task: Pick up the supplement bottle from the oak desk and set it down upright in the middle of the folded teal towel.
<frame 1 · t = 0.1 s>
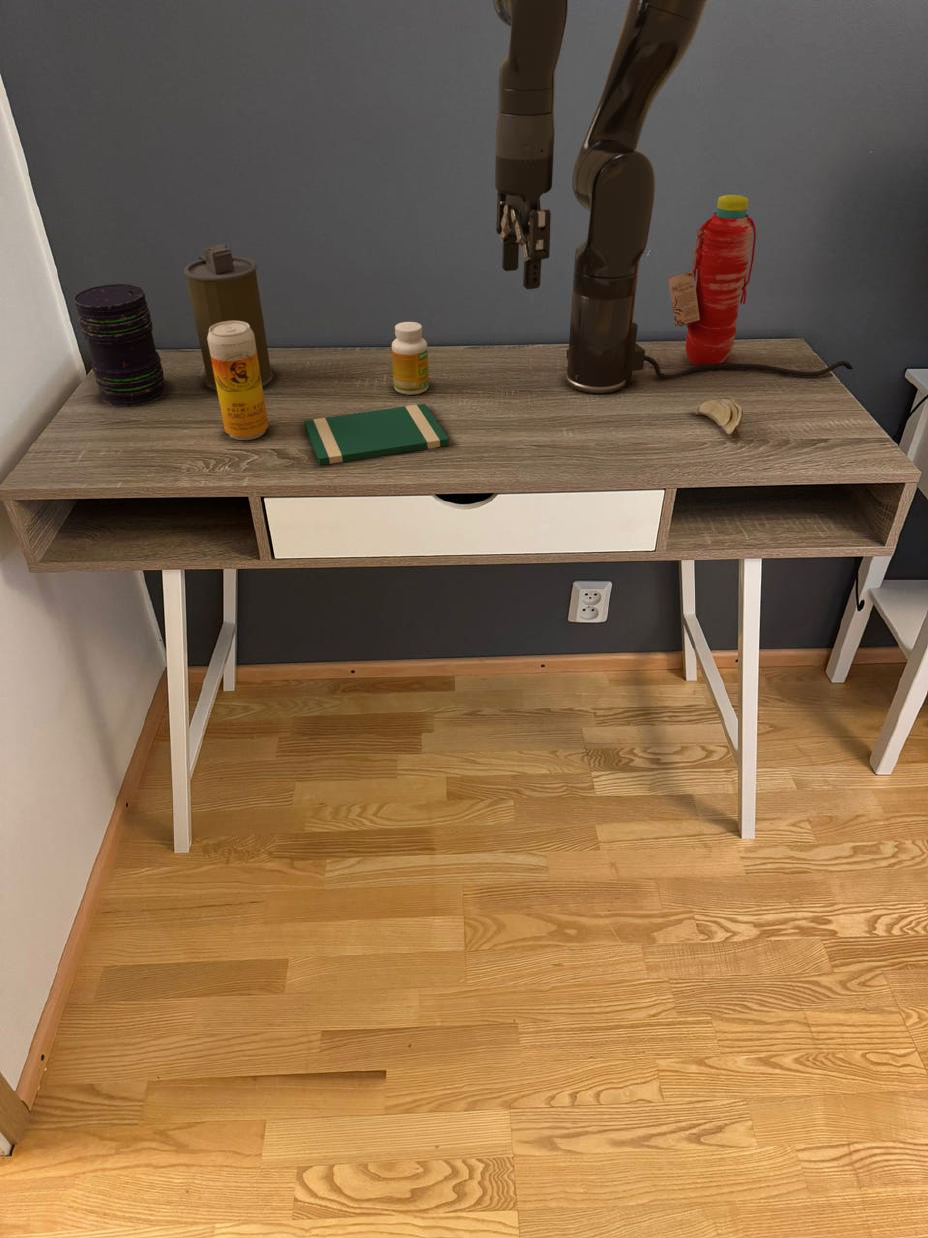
hand: (520, 278, 124), 17 cm above the table, tool pointing down, fingers open, 8 cm apart
beer can: (247, 433, 125), on the table
oyster shell: (718, 428, 126), on the table
dark cylinder: (134, 394, 136), on the table
water bottle: (697, 363, 144), on the table
canister: (239, 380, 140), on the table
towel: (375, 435, 124), on the table
supplement bottle: (411, 389, 137), on the table
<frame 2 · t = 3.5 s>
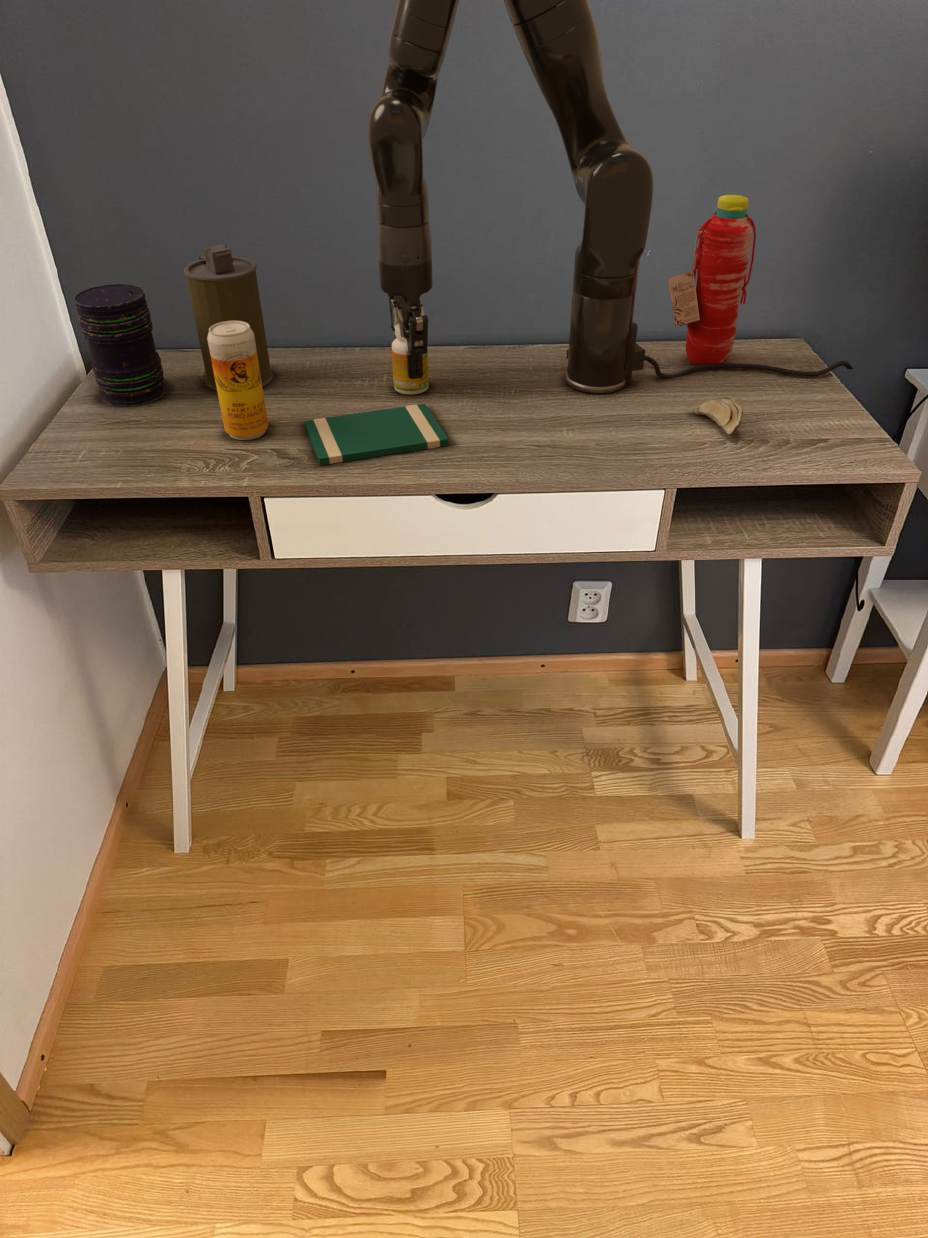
hand: (410, 369, 135), 3 cm above the table, tool pointing down, fingers closed on supplement bottle, 5 cm apart
supplement bottle: (411, 389, 137), on the table, touching gripper
everything else where it was.
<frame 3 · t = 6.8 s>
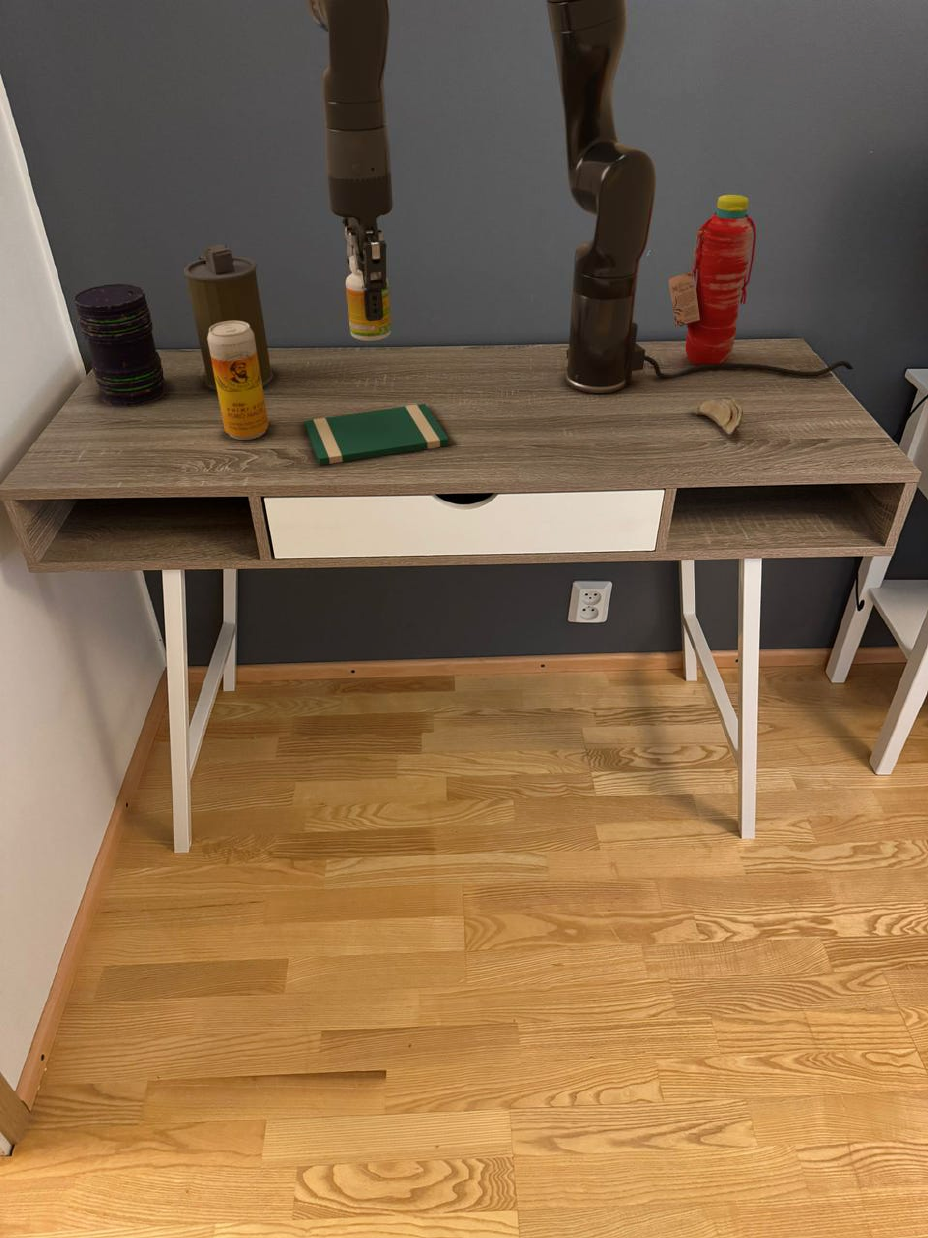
hand: (369, 311, 115), 17 cm above the table, tool pointing down, fingers closed on supplement bottle, 5 cm apart
supplement bottle: (370, 335, 116), point 14 cm above the table, touching gripper
everything else where it was.
when the fingers open (4 cm above the table, at t = 10.2 s): supplement bottle stays where it is, resting on towel.
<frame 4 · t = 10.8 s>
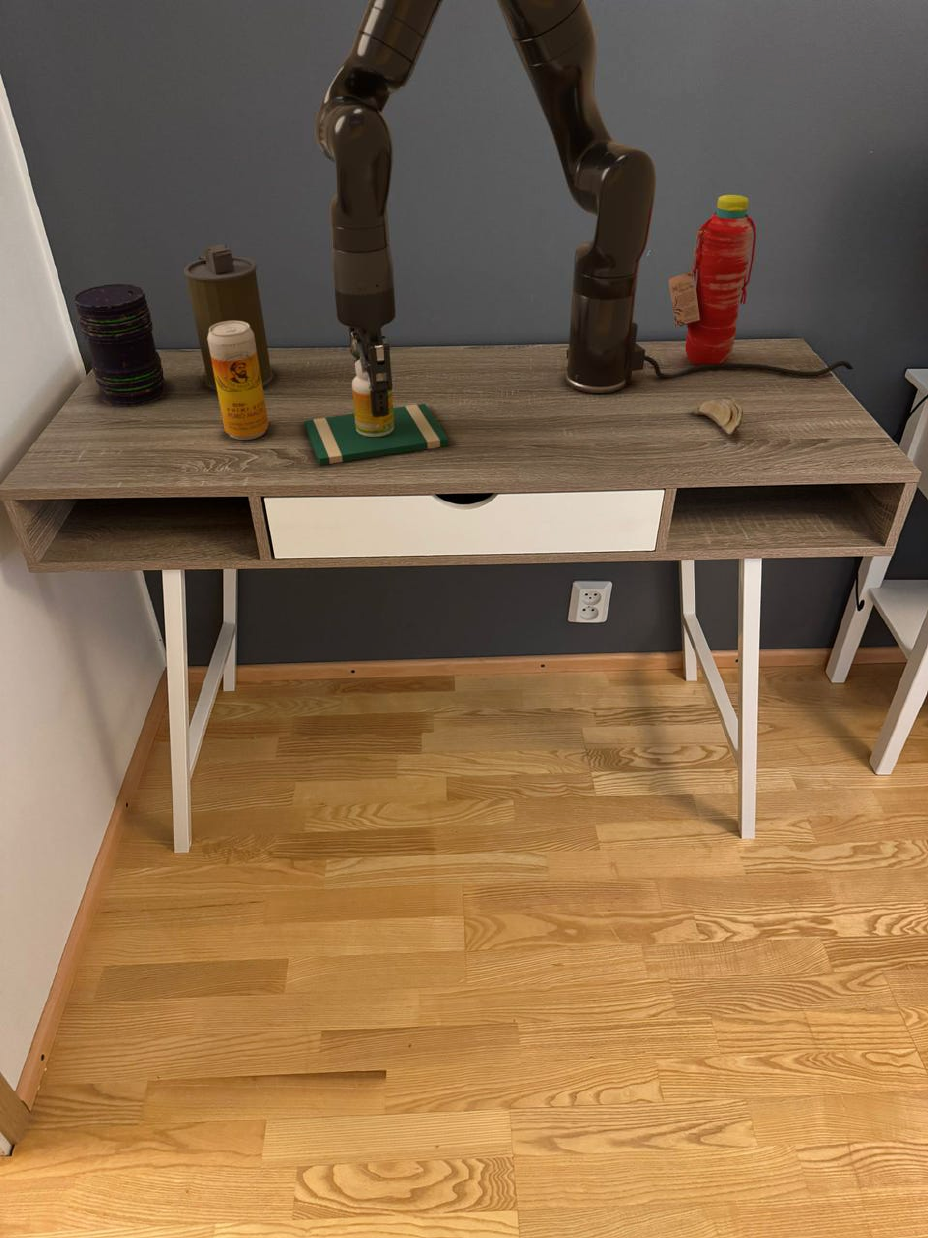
hand: (373, 402, 121), 5 cm above the table, tool pointing down, fingers open, 8 cm apart
supplement bottle: (375, 430, 124), point 1 cm above the table, touching towel
everything else where it was.
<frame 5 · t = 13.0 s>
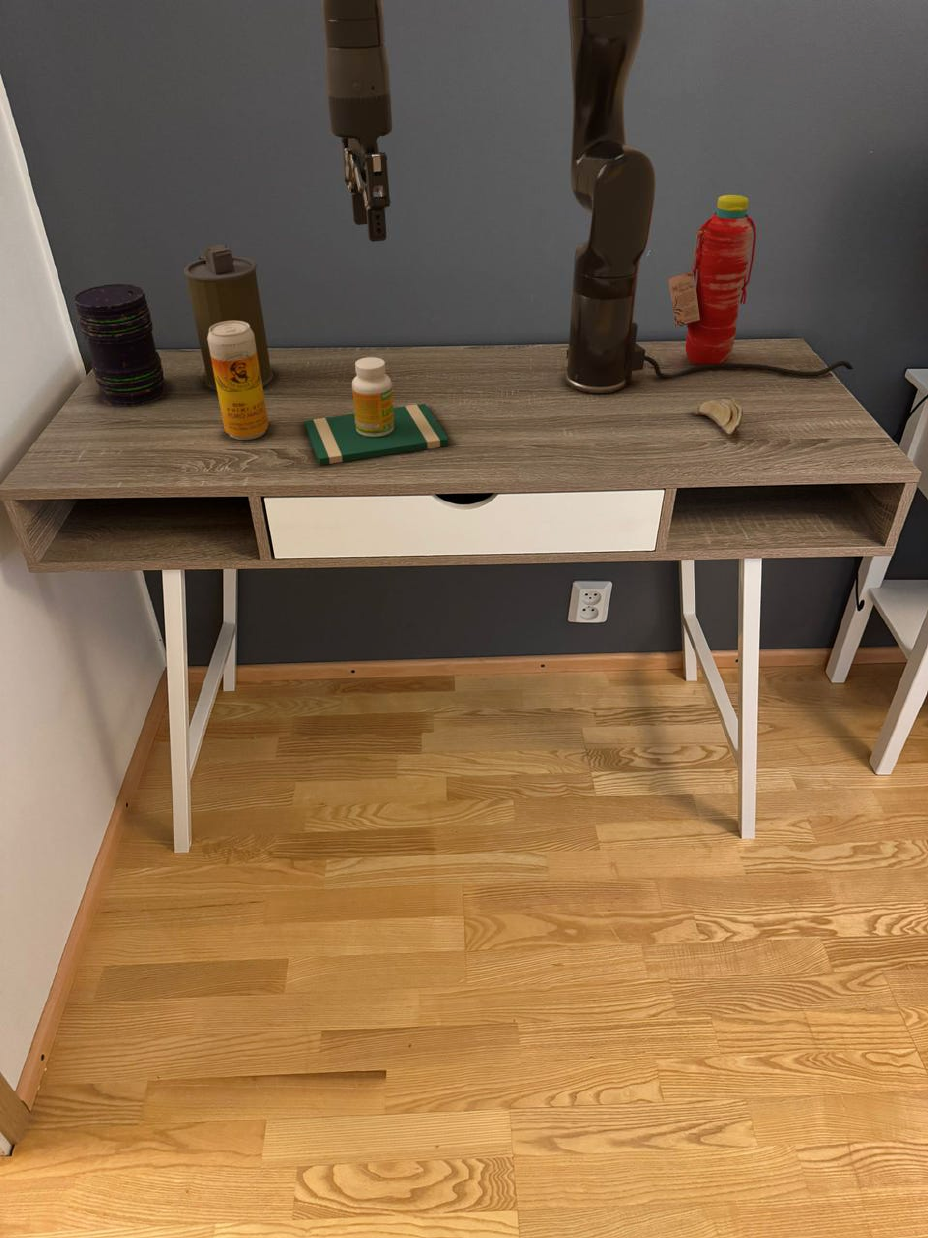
hand: (369, 231, 116), 25 cm above the table, tool pointing down, fingers open, 8 cm apart
nothing on the table moved.
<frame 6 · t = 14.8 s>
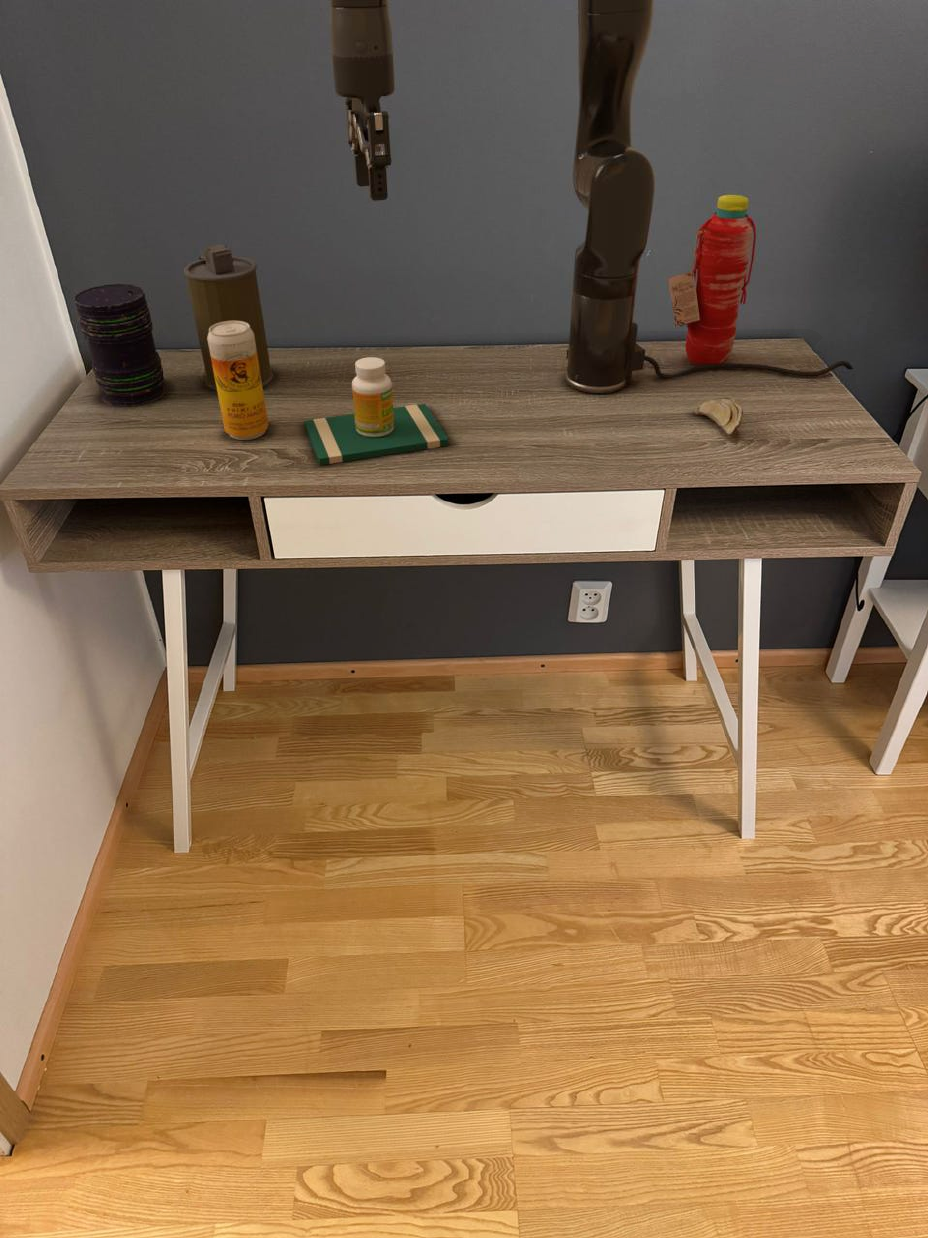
hand: (371, 192, 119), 28 cm above the table, tool pointing down, fingers open, 8 cm apart
nothing on the table moved.
at the end: supplement bottle inside the target area on the towel (0.0 cm from its centre), point 0.8 cm above the towel's base; supplement bottle tilted 0°; the gripper is holding nothing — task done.
